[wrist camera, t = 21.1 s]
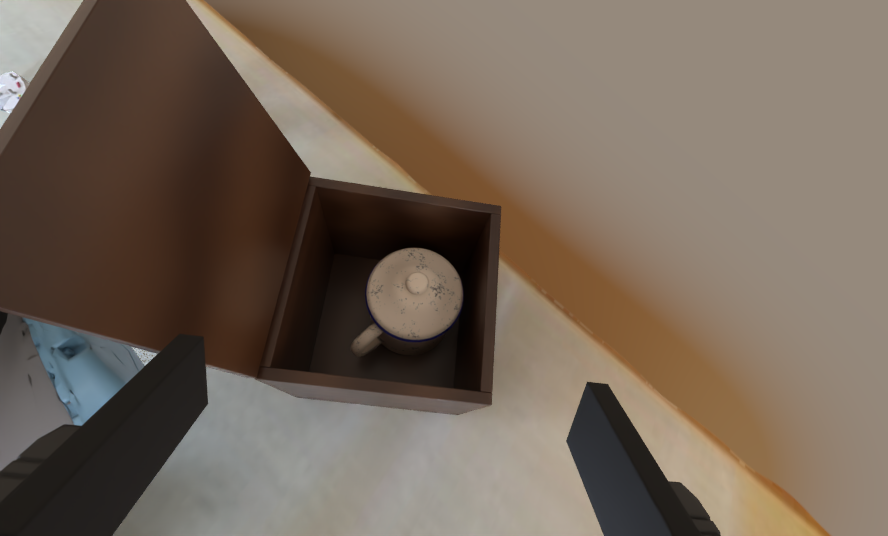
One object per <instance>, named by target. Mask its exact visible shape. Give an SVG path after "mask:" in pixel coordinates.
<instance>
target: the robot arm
mask: <svg viewBox="0 0 888 536" xmlns="http://www.w3.org/2000/svg"><path fill="white" fill-rule="evenodd" d="M207 404H208V396H207V380H206V364H205V347H204V337H203V336H194V335H186V334H179V335H178V336H176V337H175V338H174V339H173V340H172V341H171V342H170V343H169V344H168V345H167V346H166V347H165V348H164V349H163V350H162V351H161V352H159V353H158V354H157V355H156V356H155V357H154V358H153V359H152V360H151V361H150V362H149V363H148V364H147V365H146V366H144V364H143V363H142V361H141V360H140V358H139V357H138V356H137V354H136V353H135V351H134V350H133V349H132V347H131V346H128V345H124V344H120V343H117V342H113V341H109V340H105V339H102V338H98V337H94V336H91V335H87V334H83V333H79V332H76V331H72V330H68V329H65V328H61V327H57V326H53V325H50V324H46V323H42V322H39V321H35V320H31V319H27V318H24V317H20V316H16V315H13V314H9V313H5V312H1V311H0V536H112V535H113V534H114V532H115V531H116V530H117V528H118V527H119V525H120V524H121V523H122V521H123V520H124V519H125V517H126V516H127V514H128V513H129V512H130V510H131V509H132V508H133V506H134V505H135V503H136V502H137V501H138V499H139V498H140V497H141V495H142V494H143V492H144V491H145V490H146V488H147V487H148V485H149V484H150V483H151V481H152V480H153V479H154V477H155V476H156V474H157V473H158V472H159V470H160V469H161V468H162V466H163V465H164V463H165V462H166V461H167V459H168V458H169V457H170V455H171V454H172V452H173V451H174V450H175V448H176V447H177V446H178V444H179V443H180V441H181V440H182V439H183V437H184V436H185V435H186V433H187V432H188V430H189V429H190V428H191V426H192V425H193V424H194V422H195V421H196V419H197V418H198V417H199V415H200V414H201V413H202V411H203V410H204V408H205V407H206V406H207ZM566 441H567V444H568V446H569V449H570V451H571V454H572V456H573V459H574V461H575V464H576V466H577V469H578V471H579V474H580V477H581V479H582V482H583V484H584V487H585V489H586V492H587V494H588V497H589V499H590V502H591V504H592V507H593V509H594V512H595V514H596V517H597V519H598V522H599V524H600V527H601V529H602V532H603V534H604V536H721V535H720V531H719V530H718V528H717V527H716V525H715V524H714V522H713V521H711V520H710V516H709V515H708V513H707V512H706V510H705V509H704V507H703V506H702V504H701V503H700V501H699V500H698V499H697V498H696V497H695V496H694V495H693V494H692V493H691V492H690V491H689V490H688V489H687V488H686V487H685V486H684V485H683V484H682V483H680V482H669V481H668V480H667V479H666V477H665V475H664V474H663V472H662V471H661V469H660V467H659V466H658V464H657V463H656V461H655V459H654V458H653V456H652V455H651V453H650V451H649V450H648V448H647V447H646V445H645V443H644V442H643V440H642V439H641V437H640V435H639V434H638V432H637V430H636V429H635V427H634V426H633V424H632V422H631V421H630V419H629V418H628V416H627V414H626V413H625V411H624V410H623V408H622V406H621V405H620V403H619V402H618V400H617V398H616V397H615V395H614V394H613V392H612V390H611V389H610V387H609V385H608V384H601V383H593V382H587V384H586V387H585V390H584V392H583V395H582V398H581V401H580V404H579V407H578V409H577V412H576V415H575V418H574V421H573V423H572V426H571V429H570V432H569V435H568V437H567V440H566Z"/></svg>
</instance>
